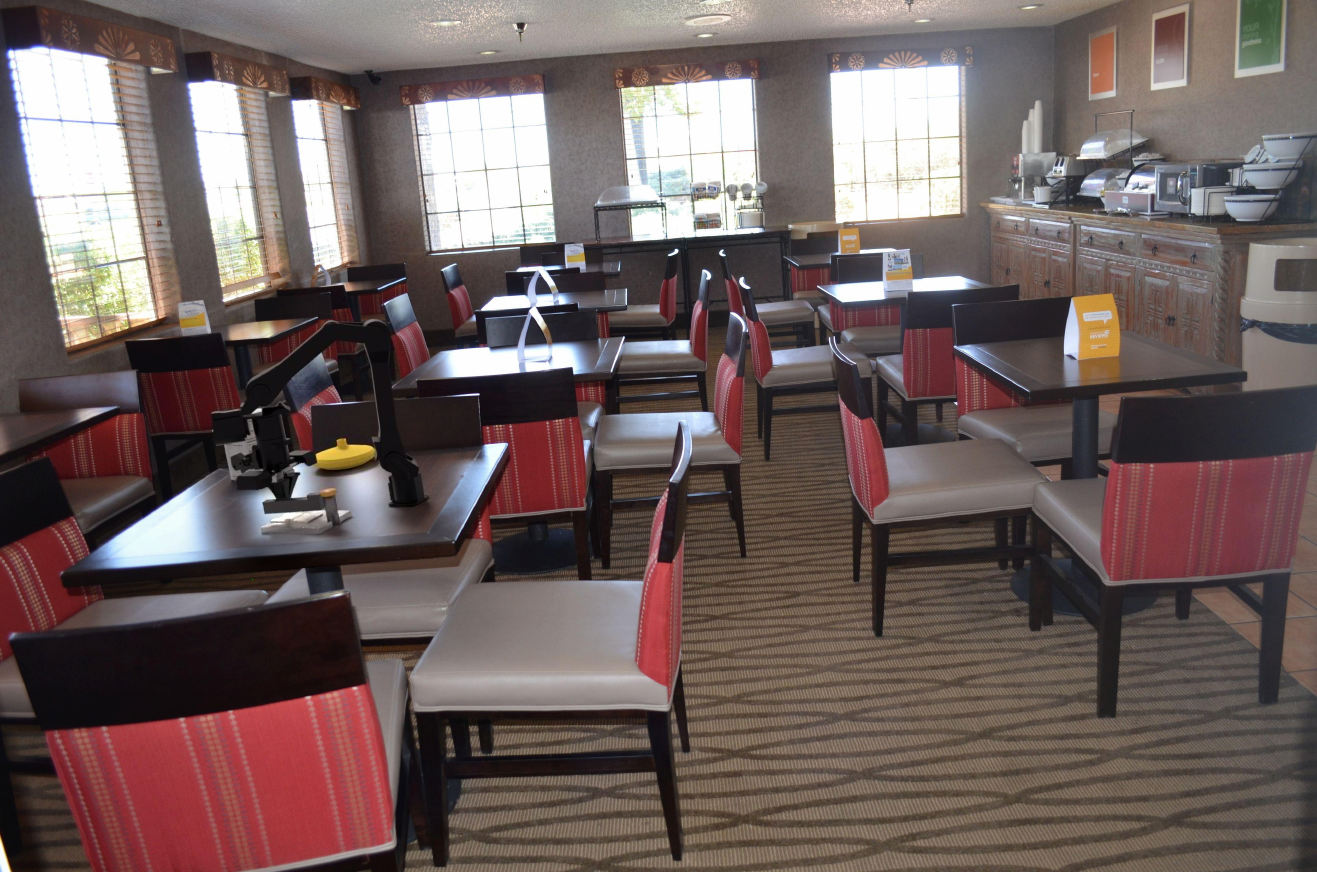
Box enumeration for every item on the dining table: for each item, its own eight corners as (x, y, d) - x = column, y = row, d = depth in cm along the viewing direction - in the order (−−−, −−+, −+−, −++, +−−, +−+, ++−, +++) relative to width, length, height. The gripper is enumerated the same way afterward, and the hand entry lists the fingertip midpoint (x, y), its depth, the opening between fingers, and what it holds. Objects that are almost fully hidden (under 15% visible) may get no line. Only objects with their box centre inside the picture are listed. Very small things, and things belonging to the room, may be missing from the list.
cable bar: (341, 505, 196) (338, 487, 195) (335, 510, 193) (332, 492, 192) (270, 510, 198) (267, 492, 197) (263, 515, 195) (259, 497, 194)
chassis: (354, 515, 200) (349, 487, 199) (322, 533, 190) (317, 504, 189) (295, 515, 205) (290, 487, 203) (261, 532, 195) (255, 504, 193)
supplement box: (284, 472, 243) (272, 408, 239) (253, 483, 236) (240, 416, 232) (261, 470, 249) (249, 407, 245) (229, 480, 241) (216, 415, 237)
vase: (366, 472, 237) (361, 444, 235) (304, 477, 237) (299, 449, 236) (385, 456, 252) (381, 430, 250) (326, 460, 253) (321, 435, 251)
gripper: (268, 425, 206) (282, 494, 210) (205, 450, 189) (222, 524, 193) (311, 424, 202) (325, 494, 206) (251, 449, 185) (267, 525, 189)
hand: (285, 509), depth 199 cm, fingers closed
